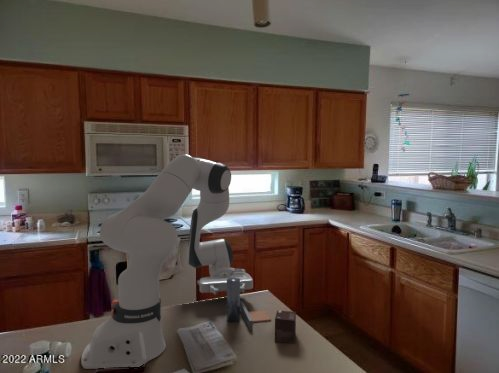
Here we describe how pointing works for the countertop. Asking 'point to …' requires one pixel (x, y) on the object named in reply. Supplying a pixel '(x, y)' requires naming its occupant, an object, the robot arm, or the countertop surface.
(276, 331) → the box
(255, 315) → the coaster
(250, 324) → the wall
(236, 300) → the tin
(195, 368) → the countertop surface
